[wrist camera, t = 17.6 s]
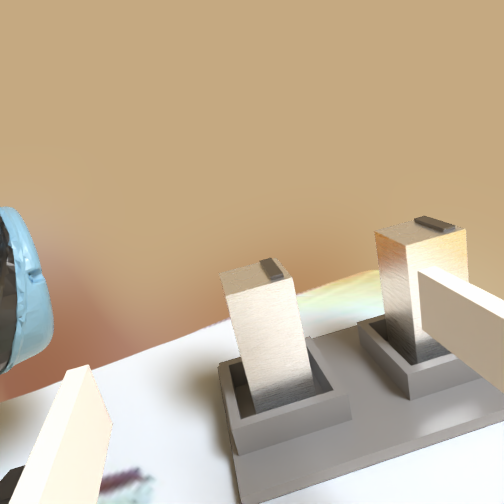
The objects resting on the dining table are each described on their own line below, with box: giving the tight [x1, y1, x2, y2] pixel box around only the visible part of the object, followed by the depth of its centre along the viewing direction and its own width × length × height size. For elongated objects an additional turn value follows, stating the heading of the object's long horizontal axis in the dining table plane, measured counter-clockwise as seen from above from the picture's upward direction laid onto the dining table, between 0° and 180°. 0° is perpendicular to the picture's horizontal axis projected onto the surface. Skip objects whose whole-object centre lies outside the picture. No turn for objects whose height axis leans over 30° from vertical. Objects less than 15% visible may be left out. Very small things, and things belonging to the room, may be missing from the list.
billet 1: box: [219, 258, 316, 414], centre depth 33 cm, size 5×5×12 cm
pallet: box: [218, 314, 504, 504], centre depth 35 cm, size 24×16×4 cm, turn 100°
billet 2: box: [374, 216, 469, 366], centre depth 34 cm, size 5×5×12 cm
